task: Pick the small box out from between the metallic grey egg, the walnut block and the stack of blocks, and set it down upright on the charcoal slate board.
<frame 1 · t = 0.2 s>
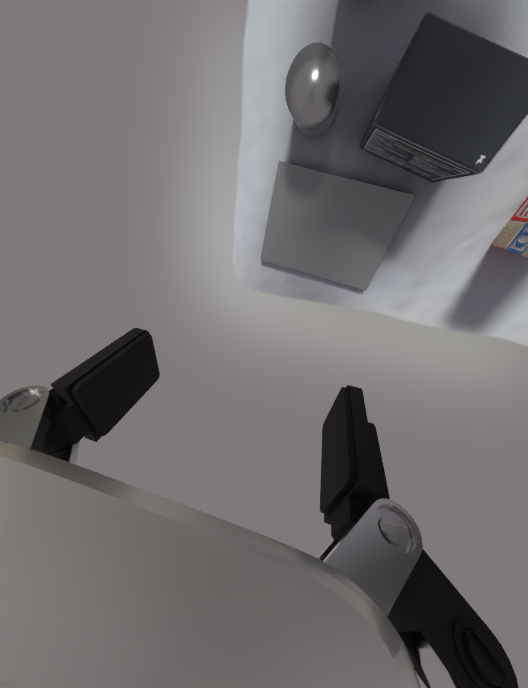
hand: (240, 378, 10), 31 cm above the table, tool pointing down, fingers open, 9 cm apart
slate board: (326, 231, 33), on the table
metallic grey egg: (315, 109, 26), on the table
small box: (415, 132, 25), on the table
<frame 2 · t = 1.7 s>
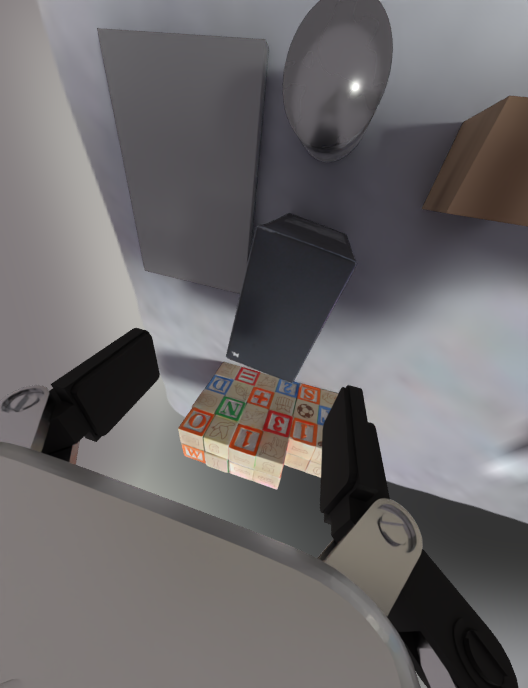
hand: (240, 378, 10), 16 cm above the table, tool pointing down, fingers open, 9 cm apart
slate board: (192, 190, 21), on the table
walnut block: (476, 174, 16), on the table
stack of blocks: (286, 392, 34), on the table
metallic grey egg: (334, 118, 16), on the table
small box: (298, 276, 23), on the table
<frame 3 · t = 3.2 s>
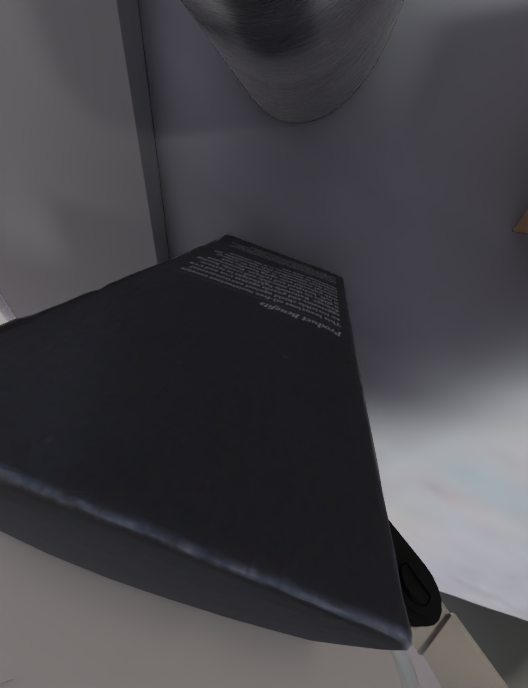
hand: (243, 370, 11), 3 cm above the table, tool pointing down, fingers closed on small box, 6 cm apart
slate board: (49, 189, 11), on the table
small box: (259, 339, 13), on the table, touching gripper
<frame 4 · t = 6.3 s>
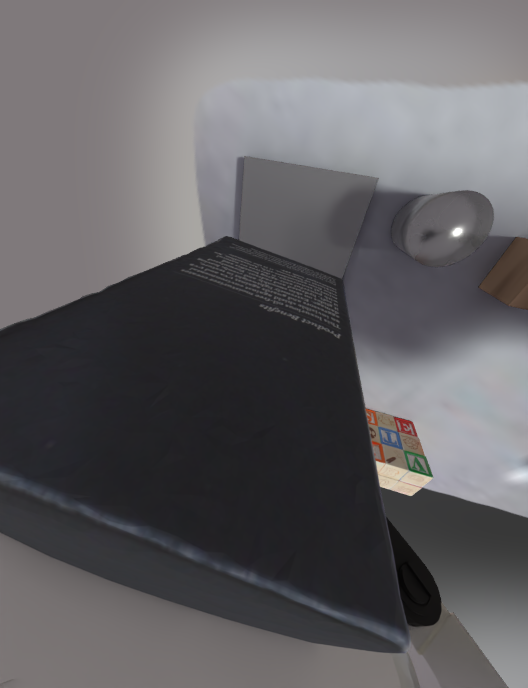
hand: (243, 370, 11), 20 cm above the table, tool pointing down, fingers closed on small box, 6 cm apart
slate board: (290, 260, 27), on the table
walnut block: (522, 268, 22), on the table
stack of blocks: (342, 413, 39), on the table
metallic grey egg: (419, 225, 22), on the table
small box: (259, 339, 13), point 17 cm above the table, touching gripper
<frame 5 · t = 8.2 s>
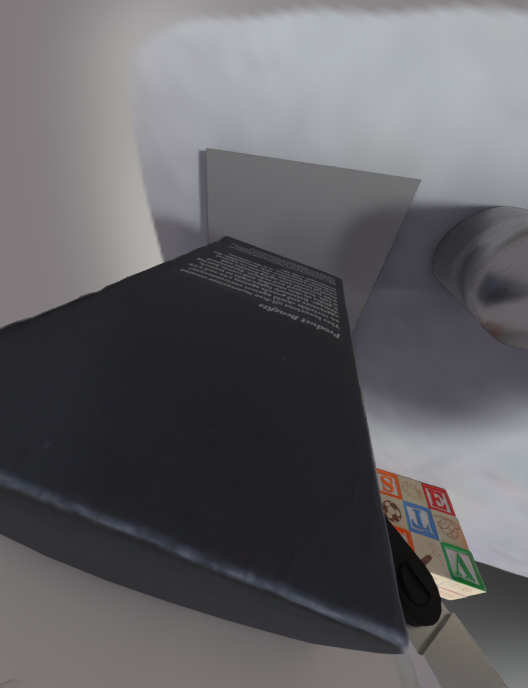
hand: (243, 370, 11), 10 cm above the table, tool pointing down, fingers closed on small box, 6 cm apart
slate board: (282, 296, 19), on the table
stack of blocks: (354, 472, 32), on the table
metallic grey egg: (480, 252, 14), on the table
small box: (258, 339, 13), point 7 cm above the table, touching gripper
when the fingers open (5 cm above the table, at t = 9.7 s): small box drops 1 cm, resting on slate board.
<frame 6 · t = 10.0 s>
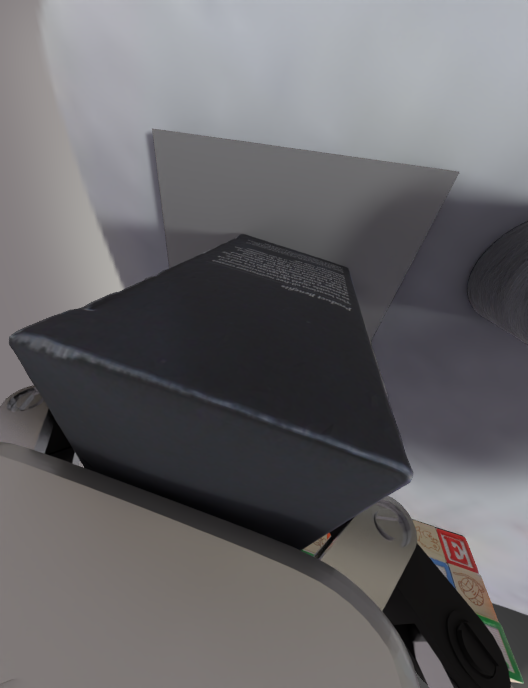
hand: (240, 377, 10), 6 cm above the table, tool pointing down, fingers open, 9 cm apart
slate board: (267, 322, 15), on the table
stack of blocks: (357, 511, 28), on the table
small box: (272, 329, 14), point 1 cm above the table, touching slate board
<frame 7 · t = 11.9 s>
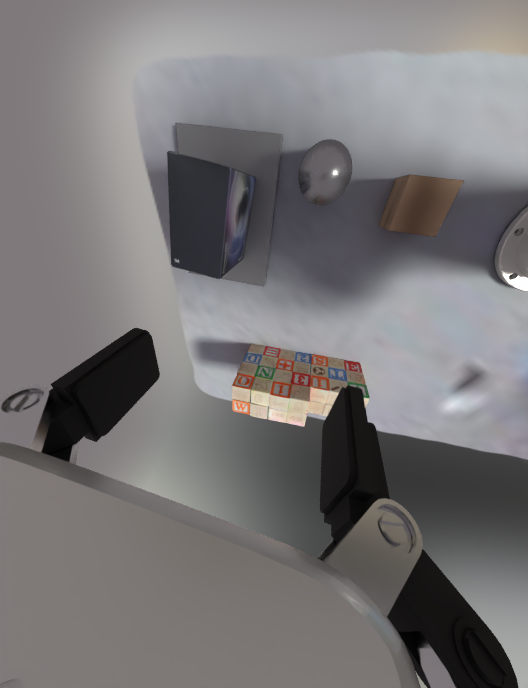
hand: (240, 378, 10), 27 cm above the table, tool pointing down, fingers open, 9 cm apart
slate board: (228, 216, 31), on the table
walnut block: (407, 205, 27), on the table
stack of blocks: (301, 363, 44), on the table
metallic grey egg: (323, 174, 27), on the table
small box: (230, 217, 31), point 1 cm above the table, touching slate board
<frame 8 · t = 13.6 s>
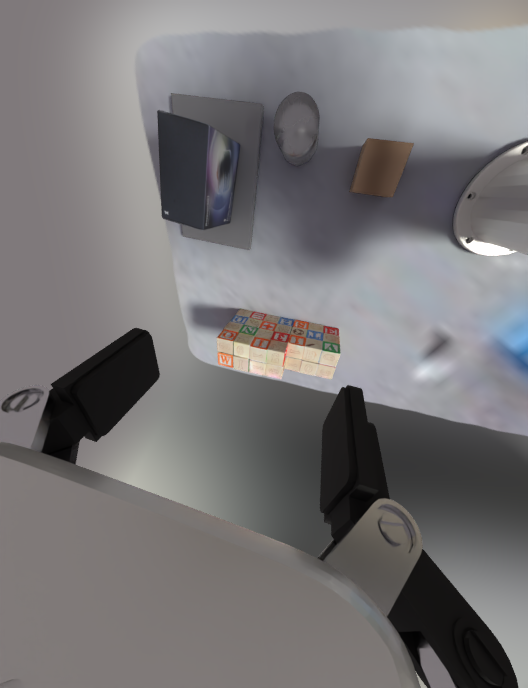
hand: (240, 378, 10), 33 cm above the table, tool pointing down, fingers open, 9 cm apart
slate board: (217, 182, 35), on the table
walnut block: (373, 172, 30), on the table
stack of blocks: (285, 329, 47), on the table
metallic grey egg: (299, 141, 30), on the table
small box: (218, 182, 34), point 1 cm above the table, touching slate board
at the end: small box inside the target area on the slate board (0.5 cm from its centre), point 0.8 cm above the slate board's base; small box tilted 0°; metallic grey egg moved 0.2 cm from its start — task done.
